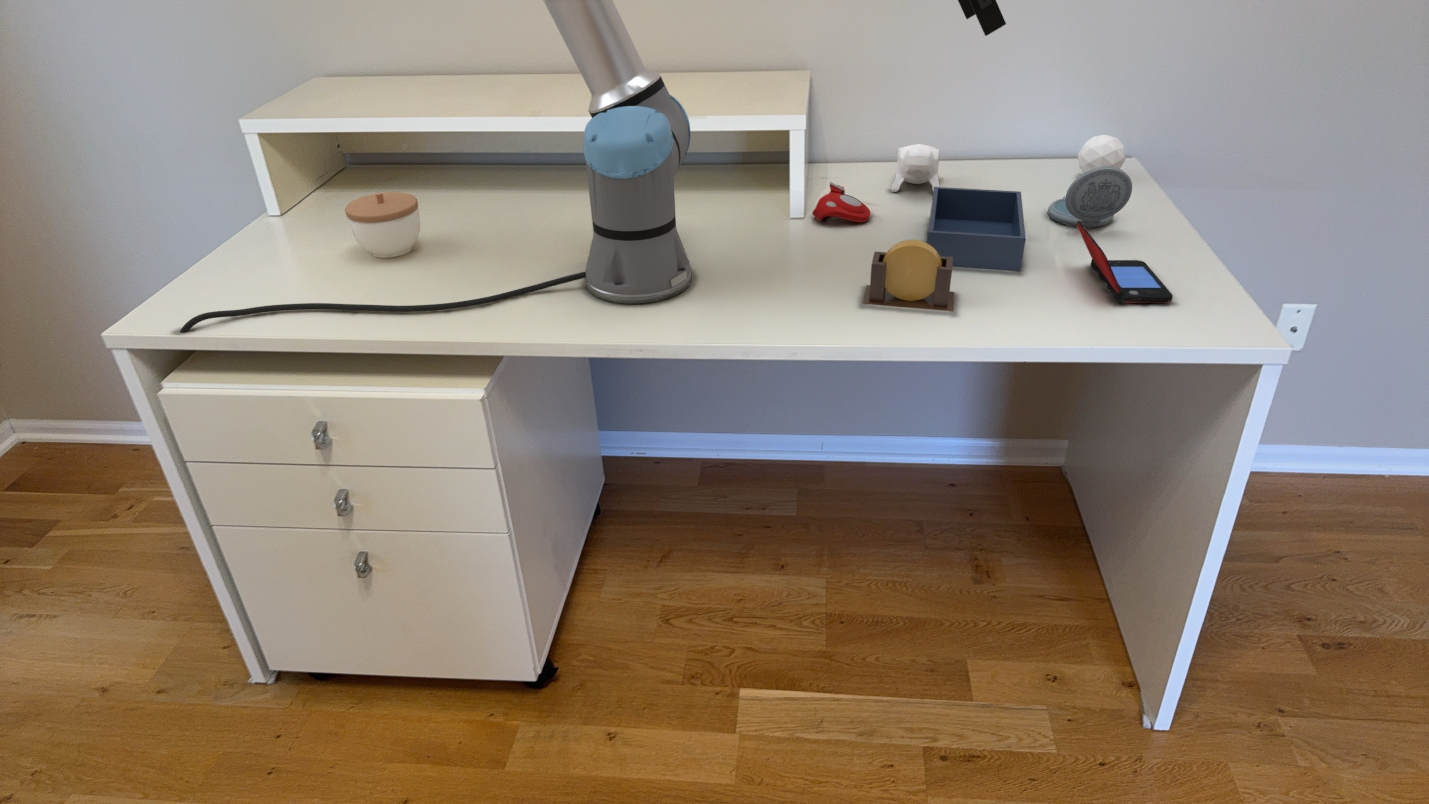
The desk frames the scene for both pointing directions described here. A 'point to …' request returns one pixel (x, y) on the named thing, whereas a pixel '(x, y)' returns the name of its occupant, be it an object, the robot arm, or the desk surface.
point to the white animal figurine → (917, 166)
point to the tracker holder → (841, 206)
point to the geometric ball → (1101, 153)
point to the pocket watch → (1093, 198)
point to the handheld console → (1125, 276)
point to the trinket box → (385, 223)
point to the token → (911, 270)
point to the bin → (978, 227)
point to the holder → (881, 296)
